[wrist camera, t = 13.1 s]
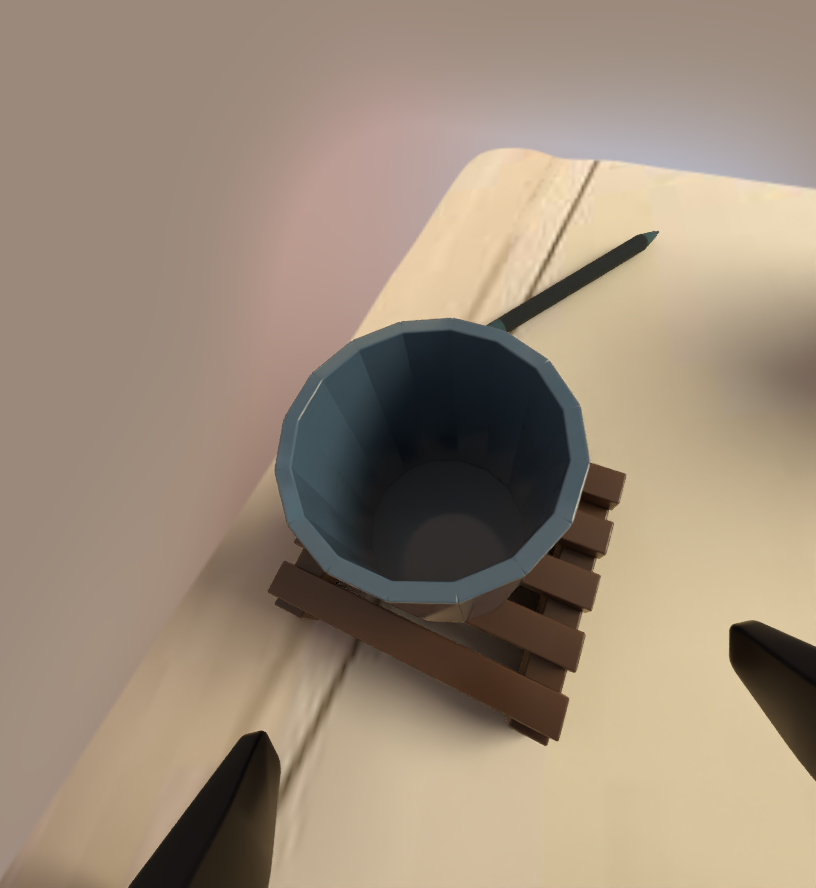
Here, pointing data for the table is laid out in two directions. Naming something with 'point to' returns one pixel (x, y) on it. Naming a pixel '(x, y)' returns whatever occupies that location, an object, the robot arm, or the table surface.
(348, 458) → the cup
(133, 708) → the table surface
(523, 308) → the pen
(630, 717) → the table surface
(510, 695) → the rack
